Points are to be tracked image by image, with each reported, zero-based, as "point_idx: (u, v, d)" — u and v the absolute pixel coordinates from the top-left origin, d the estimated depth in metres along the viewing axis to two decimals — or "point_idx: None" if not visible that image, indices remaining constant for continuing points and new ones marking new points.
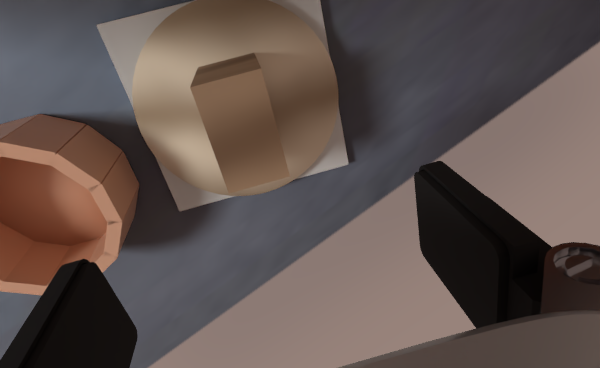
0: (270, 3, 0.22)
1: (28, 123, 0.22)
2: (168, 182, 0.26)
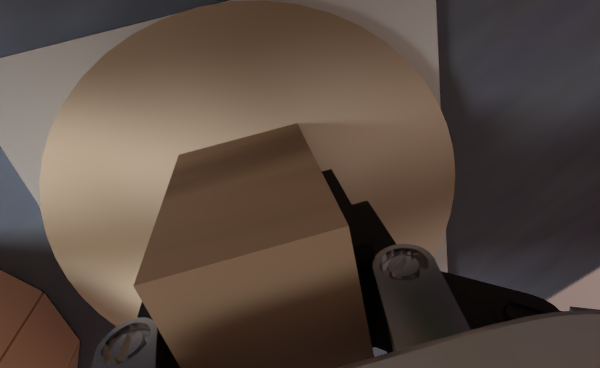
0: (338, 21, 0.10)
1: None
2: None
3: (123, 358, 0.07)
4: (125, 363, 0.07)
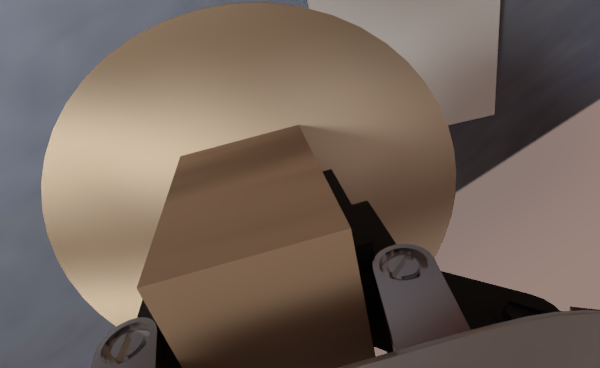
0: (339, 23, 0.10)
1: None
2: None
3: (123, 358, 0.07)
4: (125, 363, 0.07)
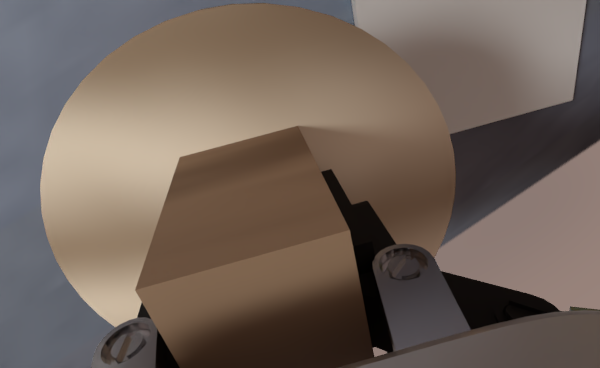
0: (339, 24, 0.10)
1: None
2: None
3: (123, 358, 0.07)
4: (125, 363, 0.07)
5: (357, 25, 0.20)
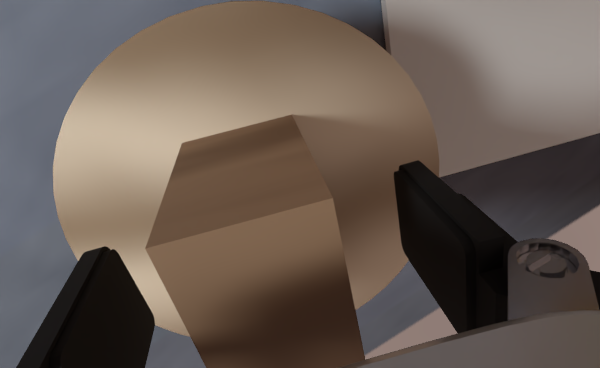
0: (329, 20, 0.11)
1: None
2: None
3: None
4: None
5: (388, 39, 0.16)
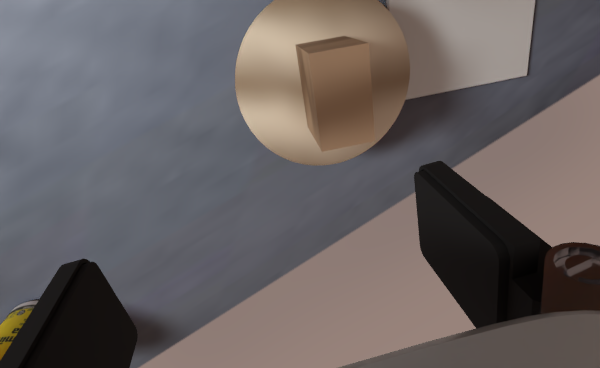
0: None
1: None
2: None
3: None
4: None
5: None
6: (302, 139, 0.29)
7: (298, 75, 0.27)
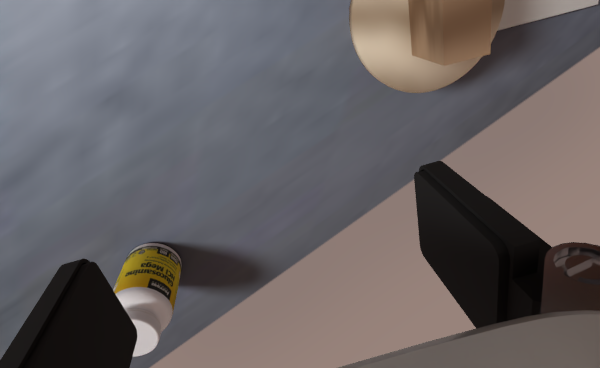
0: None
1: None
2: None
3: None
4: None
5: None
6: (406, 67, 0.32)
7: (407, 5, 0.30)
